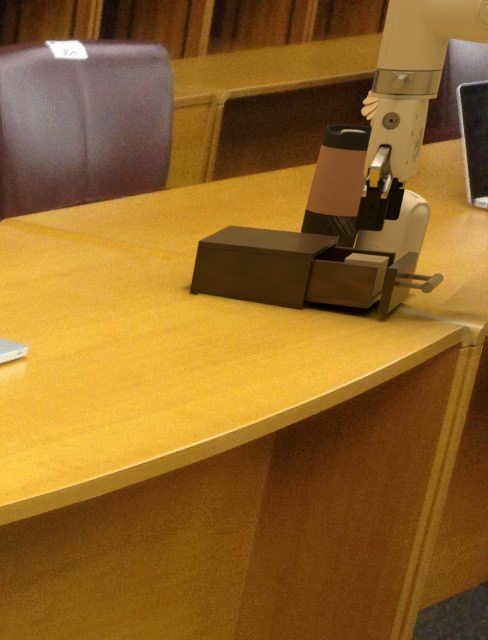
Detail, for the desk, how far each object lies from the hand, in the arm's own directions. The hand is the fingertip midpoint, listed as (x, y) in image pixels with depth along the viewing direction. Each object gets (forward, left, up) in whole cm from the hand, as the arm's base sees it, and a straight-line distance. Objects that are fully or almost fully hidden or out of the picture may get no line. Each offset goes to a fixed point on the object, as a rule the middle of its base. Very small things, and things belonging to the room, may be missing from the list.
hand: (376, 224), depth 199 cm
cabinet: (+13, 0, -11) cm, 17 cm away
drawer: (0, 0, -10) cm, 10 cm away
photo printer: (+2, -22, -11) cm, 25 cm away
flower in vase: (+13, -59, -11) cm, 61 cm away
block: (0, 0, -9) cm, 9 cm away
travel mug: (+10, -21, -11) cm, 26 cm away
